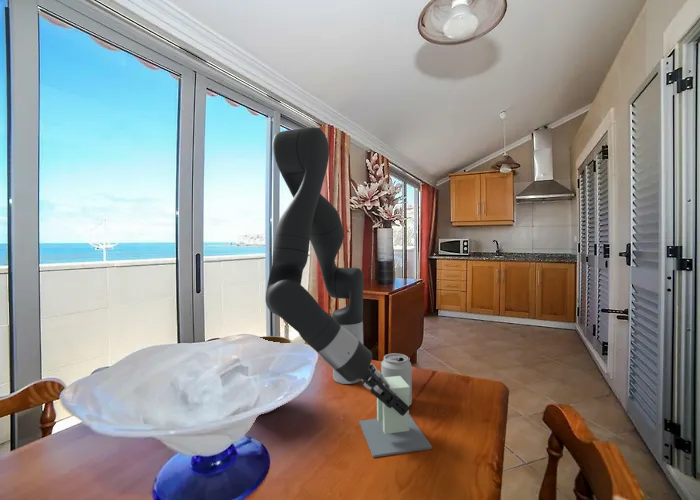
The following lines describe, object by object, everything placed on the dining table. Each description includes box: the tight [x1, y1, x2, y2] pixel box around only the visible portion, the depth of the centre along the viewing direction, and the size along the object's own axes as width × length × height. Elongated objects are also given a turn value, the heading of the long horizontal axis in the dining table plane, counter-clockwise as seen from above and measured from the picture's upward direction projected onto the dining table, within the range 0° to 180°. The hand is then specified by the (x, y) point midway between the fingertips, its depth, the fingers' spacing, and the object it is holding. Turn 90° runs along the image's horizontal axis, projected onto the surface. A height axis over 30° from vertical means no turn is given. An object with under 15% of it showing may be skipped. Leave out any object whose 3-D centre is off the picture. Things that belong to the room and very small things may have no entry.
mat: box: [359, 414, 433, 458], centre depth 67 cm, size 12×12×1 cm
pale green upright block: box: [376, 376, 410, 434], centre depth 67 cm, size 6×6×9 cm
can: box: [380, 352, 413, 407], centre depth 80 cm, size 8×8×12 cm
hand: (400, 403), depth 67 cm, fingers closed on pale green upright block, 5 cm apart
